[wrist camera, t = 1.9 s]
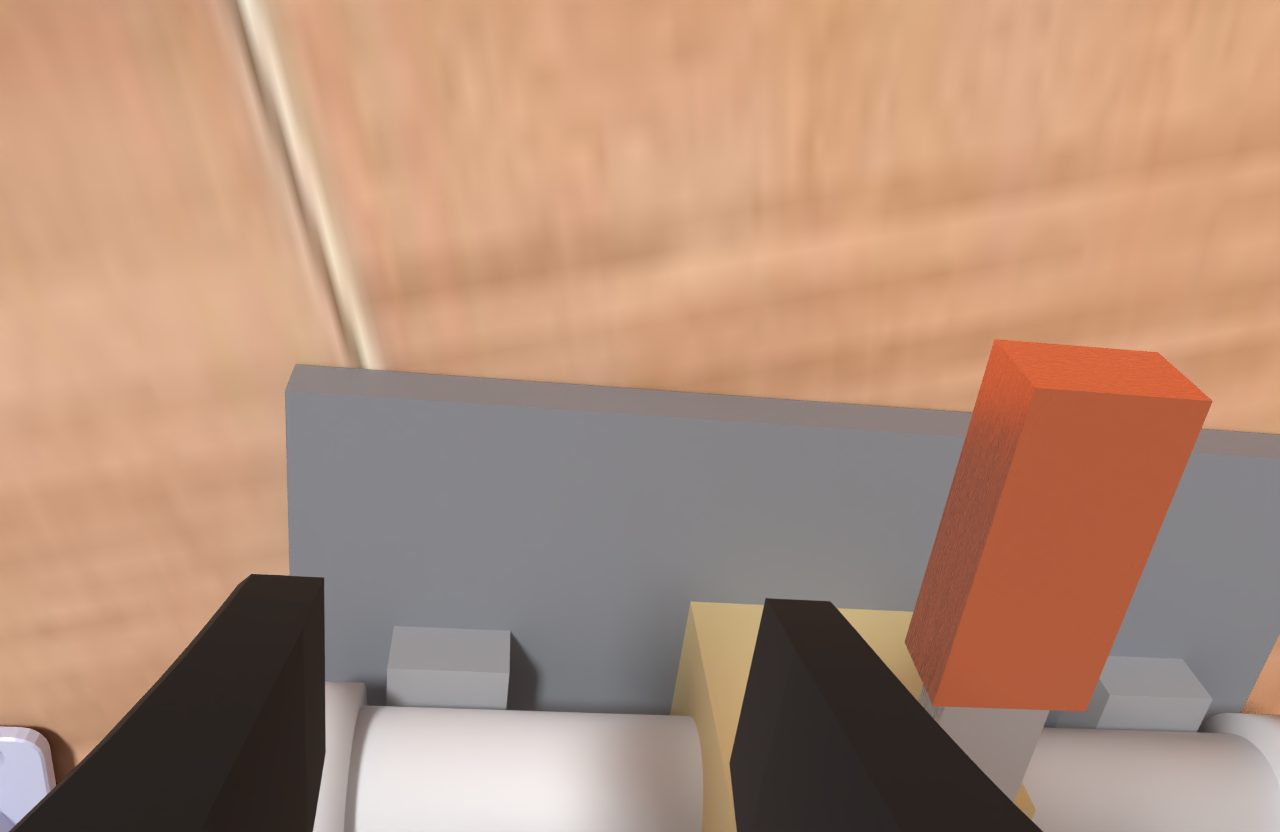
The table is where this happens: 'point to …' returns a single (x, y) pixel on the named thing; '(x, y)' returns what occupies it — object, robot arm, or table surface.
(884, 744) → the robot arm
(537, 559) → the valve board
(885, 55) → the table surface
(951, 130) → the table surface
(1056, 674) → the valve lever
